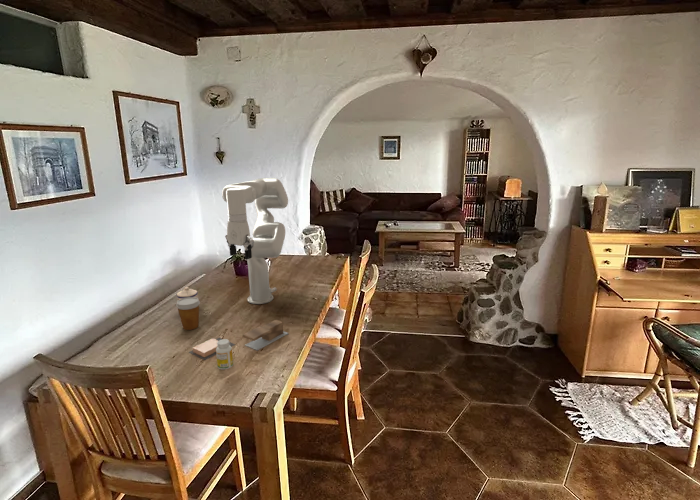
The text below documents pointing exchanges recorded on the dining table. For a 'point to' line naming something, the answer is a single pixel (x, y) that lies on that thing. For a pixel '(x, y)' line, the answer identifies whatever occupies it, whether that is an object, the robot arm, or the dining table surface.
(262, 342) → the rest
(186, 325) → the disposable coffee cup
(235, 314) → the dining table surface
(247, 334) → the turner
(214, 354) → the mat
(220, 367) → the supplement bottle
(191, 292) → the teacup with lid
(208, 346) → the tile
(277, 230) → the robot arm
